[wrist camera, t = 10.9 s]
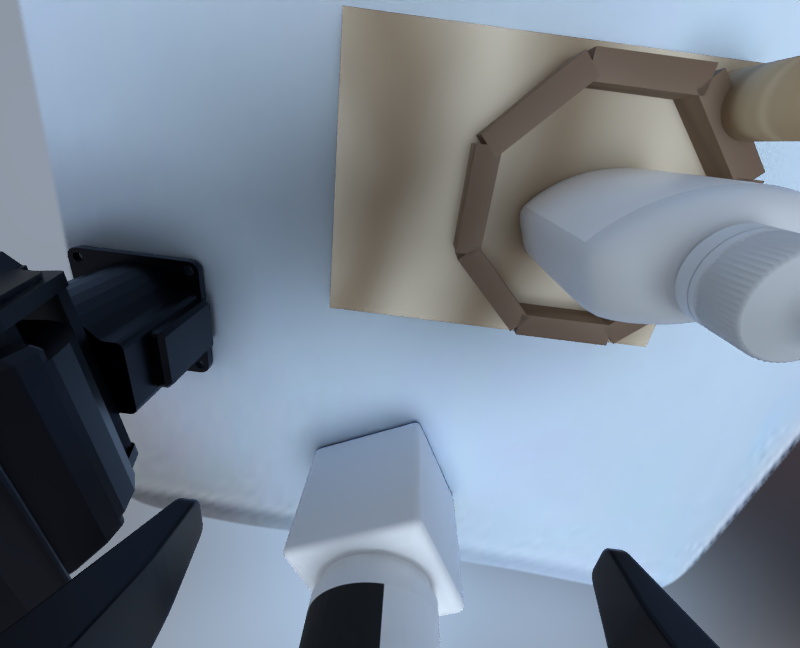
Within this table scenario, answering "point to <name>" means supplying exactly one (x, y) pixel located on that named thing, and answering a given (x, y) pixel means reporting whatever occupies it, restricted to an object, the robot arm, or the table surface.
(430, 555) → the medicine bottle
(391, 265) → the board
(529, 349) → the table surface
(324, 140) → the table surface
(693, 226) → the eye dropper bottle
